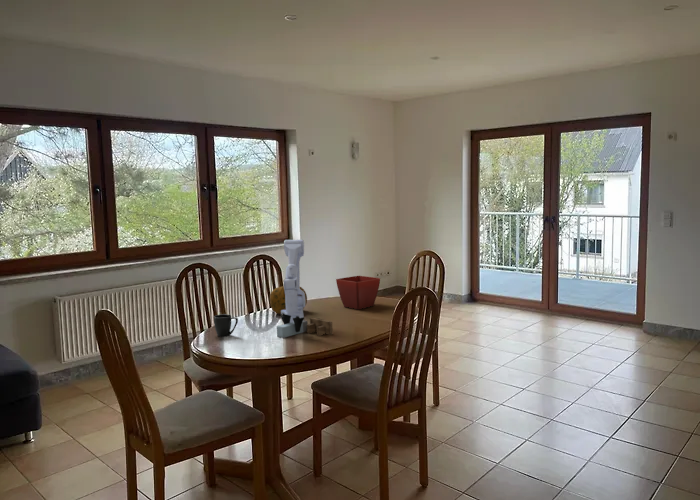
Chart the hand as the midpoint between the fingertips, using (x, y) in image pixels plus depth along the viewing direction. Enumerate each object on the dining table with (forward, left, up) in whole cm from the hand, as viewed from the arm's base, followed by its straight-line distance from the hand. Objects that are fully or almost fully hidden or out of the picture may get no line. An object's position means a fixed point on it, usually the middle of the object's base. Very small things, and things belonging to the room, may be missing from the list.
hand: (292, 330), depth 262 cm
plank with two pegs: (+9, +9, -2) cm, 13 cm away
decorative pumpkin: (-37, +29, -2) cm, 47 cm away
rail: (0, 0, -2) cm, 2 cm away
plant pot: (-16, +65, -2) cm, 67 cm away
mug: (-23, -22, -2) cm, 32 cm away
